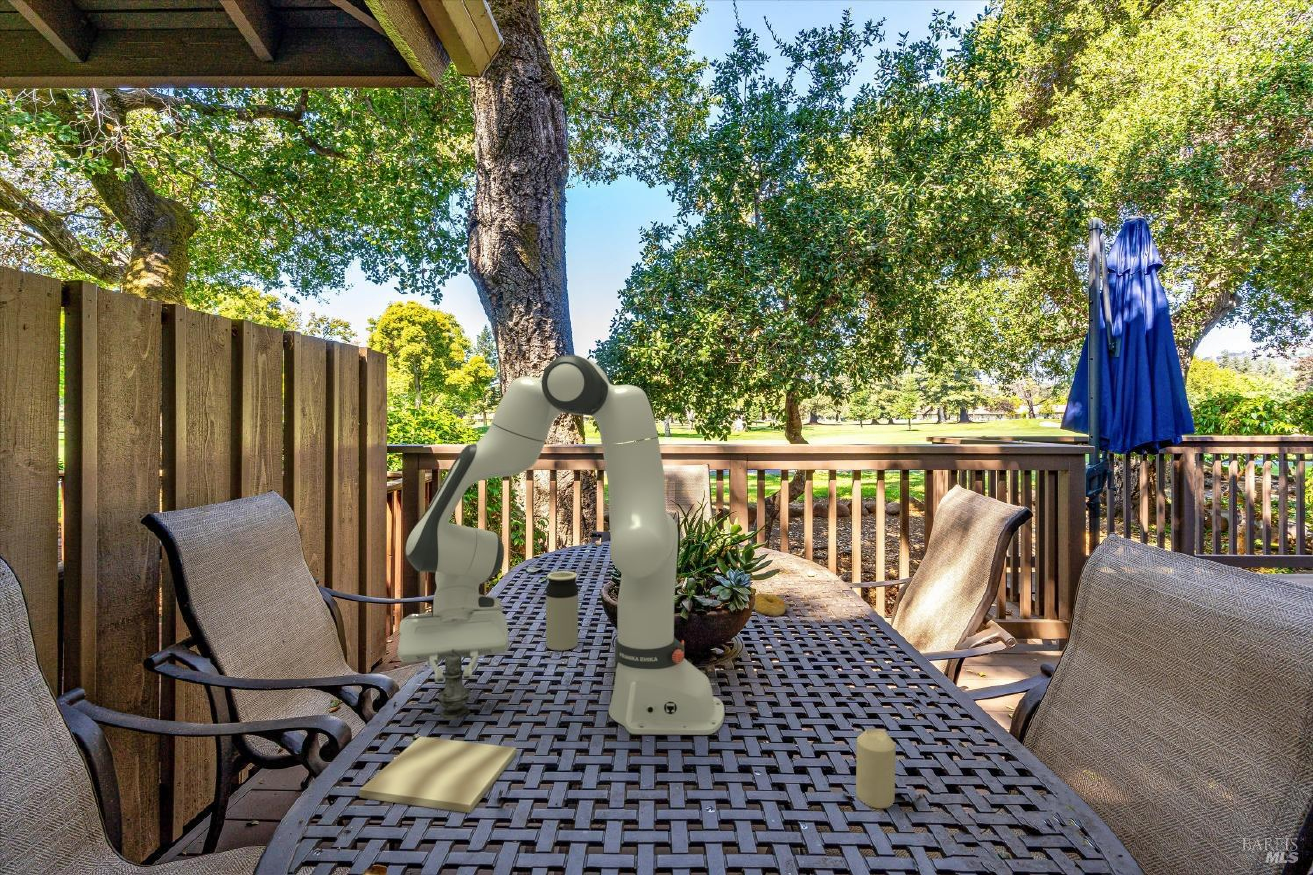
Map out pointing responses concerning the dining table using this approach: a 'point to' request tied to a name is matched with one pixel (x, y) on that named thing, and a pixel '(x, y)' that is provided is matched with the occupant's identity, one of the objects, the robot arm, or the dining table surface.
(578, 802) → the dining table surface
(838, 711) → the dining table surface
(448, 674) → the weathered chess pawn
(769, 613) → the bagel
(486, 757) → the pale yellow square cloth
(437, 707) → the dining table surface
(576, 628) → the travel mug
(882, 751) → the candle
